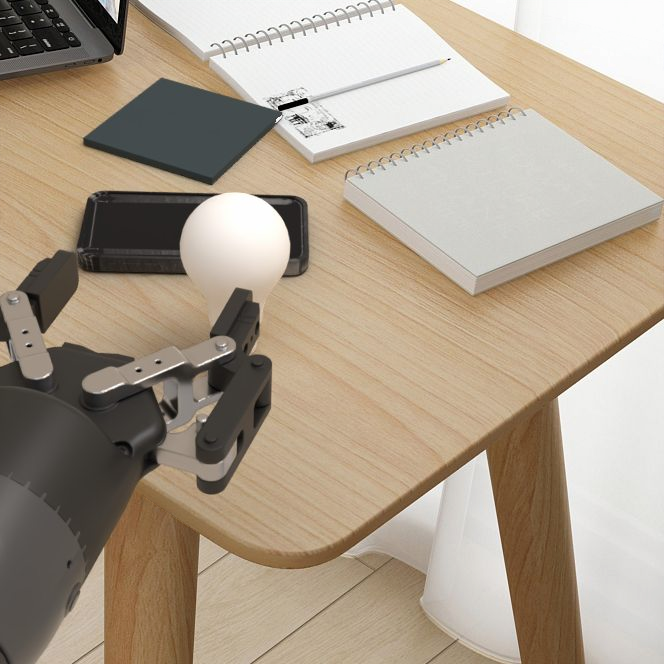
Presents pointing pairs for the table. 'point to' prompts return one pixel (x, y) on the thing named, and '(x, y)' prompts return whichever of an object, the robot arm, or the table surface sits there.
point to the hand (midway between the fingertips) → (156, 284)
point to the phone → (165, 230)
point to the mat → (184, 130)
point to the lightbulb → (234, 249)
